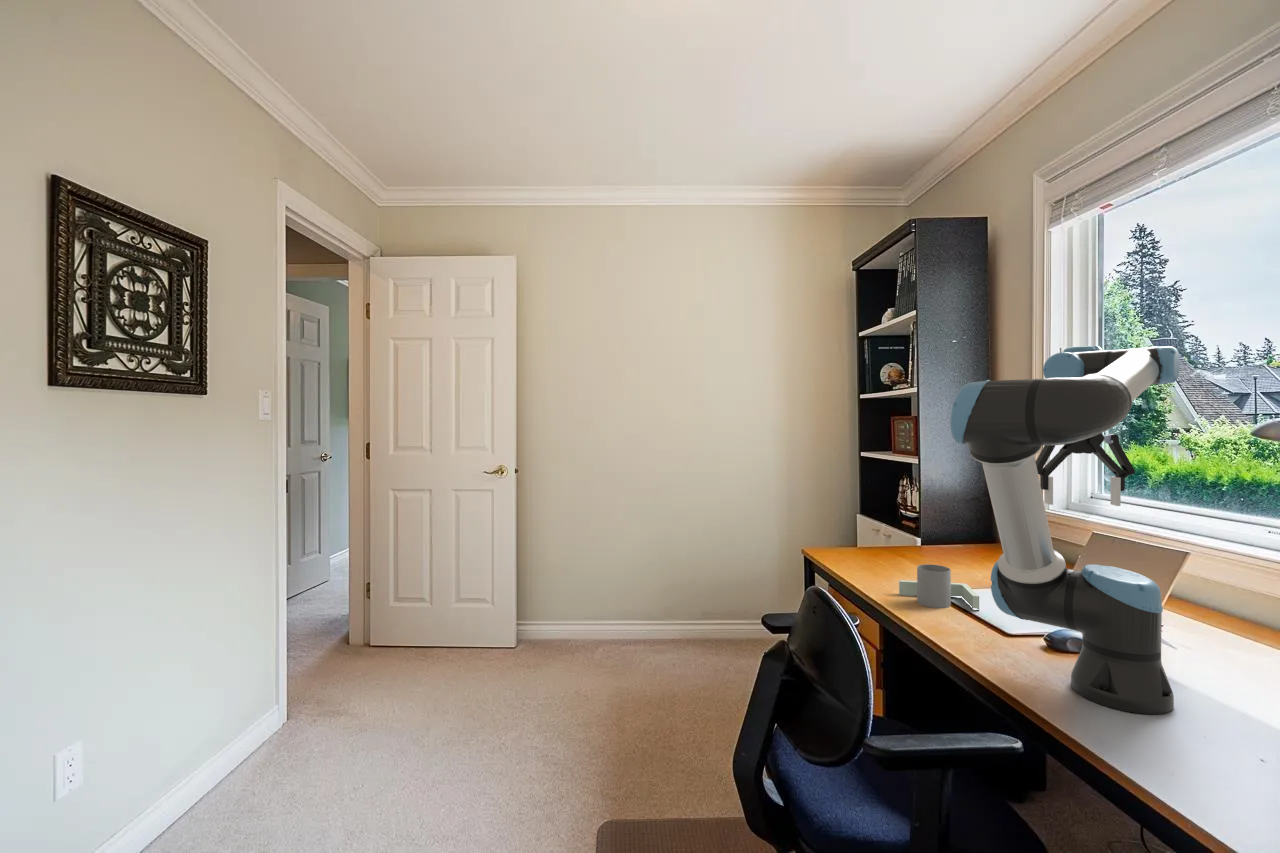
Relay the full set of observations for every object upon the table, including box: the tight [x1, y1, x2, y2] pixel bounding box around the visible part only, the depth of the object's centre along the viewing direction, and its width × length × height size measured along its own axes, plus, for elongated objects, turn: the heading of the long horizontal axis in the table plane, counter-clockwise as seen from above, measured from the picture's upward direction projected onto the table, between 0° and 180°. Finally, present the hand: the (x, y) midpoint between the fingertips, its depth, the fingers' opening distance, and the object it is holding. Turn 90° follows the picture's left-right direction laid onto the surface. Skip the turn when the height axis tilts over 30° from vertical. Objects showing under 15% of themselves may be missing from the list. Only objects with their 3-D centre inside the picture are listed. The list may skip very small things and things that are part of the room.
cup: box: [916, 563, 952, 609], centre depth 169 cm, size 8×8×10 cm
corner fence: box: [898, 579, 980, 610], centre depth 171 cm, size 12×18×4 cm
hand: (1081, 504), depth 141 cm, fingers open, 13 cm apart
